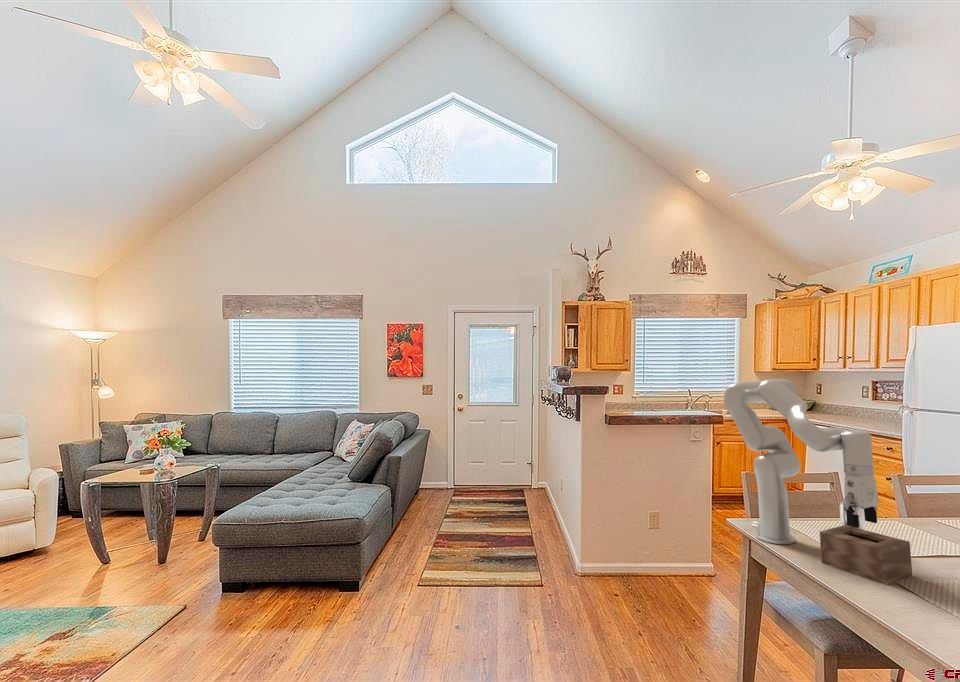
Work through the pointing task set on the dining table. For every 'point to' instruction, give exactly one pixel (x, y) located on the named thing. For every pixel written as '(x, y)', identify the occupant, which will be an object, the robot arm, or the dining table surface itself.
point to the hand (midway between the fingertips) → (862, 524)
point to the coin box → (866, 553)
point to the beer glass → (860, 513)
